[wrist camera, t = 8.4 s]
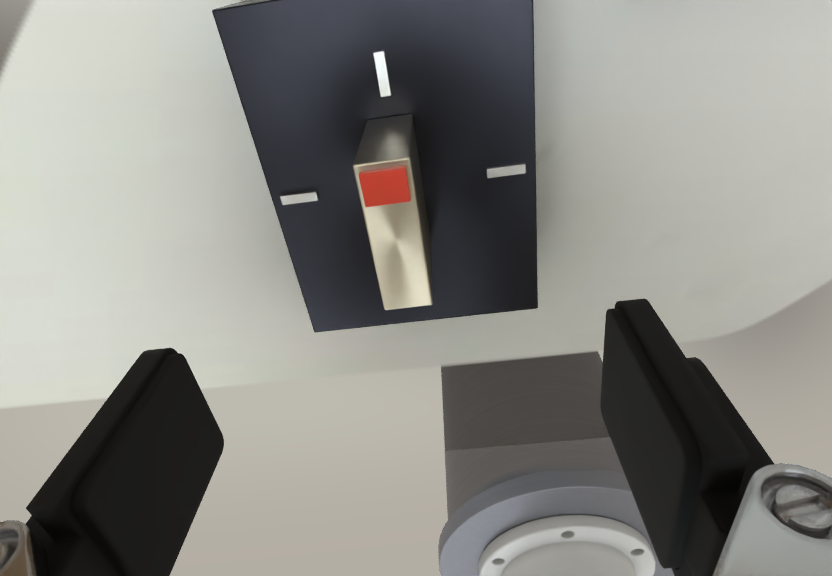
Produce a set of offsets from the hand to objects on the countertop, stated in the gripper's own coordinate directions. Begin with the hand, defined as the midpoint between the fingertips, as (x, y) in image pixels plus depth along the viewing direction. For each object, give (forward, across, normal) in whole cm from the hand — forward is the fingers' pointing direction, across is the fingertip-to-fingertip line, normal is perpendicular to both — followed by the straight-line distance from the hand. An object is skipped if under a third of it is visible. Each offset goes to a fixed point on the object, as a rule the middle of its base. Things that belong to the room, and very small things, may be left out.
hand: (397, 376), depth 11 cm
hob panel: (+13, 0, -1) cm, 13 cm away
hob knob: (+10, 0, -1) cm, 10 cm away
